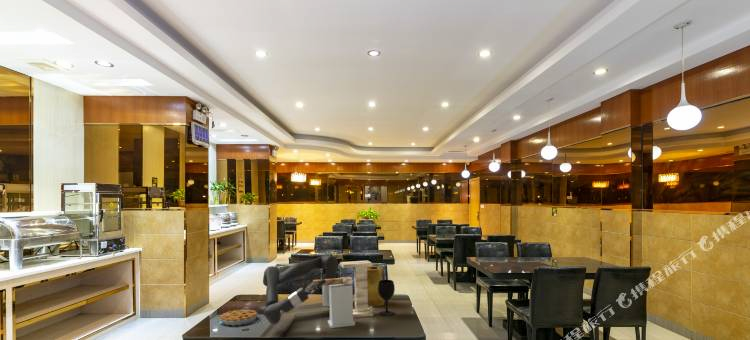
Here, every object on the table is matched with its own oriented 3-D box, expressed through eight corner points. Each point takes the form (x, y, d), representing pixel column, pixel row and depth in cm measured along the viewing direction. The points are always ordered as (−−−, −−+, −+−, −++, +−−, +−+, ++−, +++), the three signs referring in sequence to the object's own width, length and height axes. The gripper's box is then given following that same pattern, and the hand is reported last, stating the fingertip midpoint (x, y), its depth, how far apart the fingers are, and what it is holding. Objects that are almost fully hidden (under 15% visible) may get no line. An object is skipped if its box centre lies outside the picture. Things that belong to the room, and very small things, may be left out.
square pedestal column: (340, 313, 260) (339, 261, 262) (368, 310, 265) (367, 260, 267) (344, 318, 249) (343, 265, 250) (373, 315, 254) (372, 263, 255)
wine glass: (398, 313, 258) (397, 280, 259) (387, 317, 250) (386, 283, 251) (386, 310, 265) (385, 278, 266) (375, 314, 257) (374, 281, 258)
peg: (313, 286, 233) (313, 281, 233) (312, 284, 238) (312, 279, 238) (351, 283, 239) (351, 278, 239) (349, 281, 244) (349, 276, 245)
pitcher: (388, 306, 272) (385, 267, 274) (360, 308, 272) (357, 269, 274) (388, 300, 289) (385, 264, 291) (361, 302, 289) (359, 266, 291)
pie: (246, 313, 265) (246, 305, 265) (264, 320, 249) (264, 312, 249) (213, 321, 249) (213, 313, 249) (229, 329, 234) (229, 320, 234)
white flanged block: (327, 322, 242) (327, 284, 243) (351, 320, 246) (350, 282, 247) (331, 328, 232) (330, 288, 233) (355, 325, 236) (354, 286, 237)
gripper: (296, 294, 226) (323, 276, 230) (293, 288, 239) (319, 272, 244) (303, 306, 226) (330, 287, 231) (300, 299, 240) (325, 282, 245)
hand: (324, 279), depth 237 cm, fingers closed on peg, 3 cm apart
